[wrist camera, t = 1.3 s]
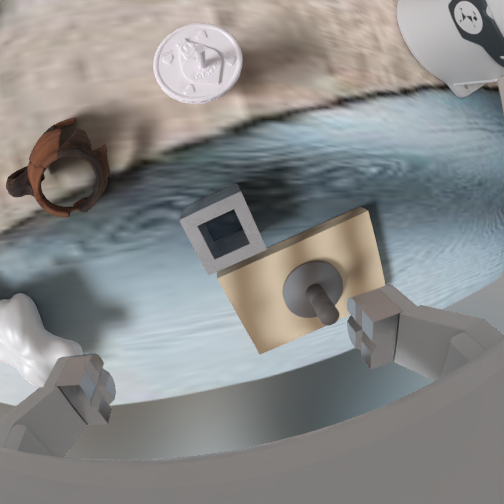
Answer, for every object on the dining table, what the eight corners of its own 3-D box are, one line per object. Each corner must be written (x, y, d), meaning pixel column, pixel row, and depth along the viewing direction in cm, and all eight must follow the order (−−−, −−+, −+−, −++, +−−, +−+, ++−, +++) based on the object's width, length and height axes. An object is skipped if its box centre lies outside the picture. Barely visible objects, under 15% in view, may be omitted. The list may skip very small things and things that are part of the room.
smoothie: (196, 126, 28) (182, 116, 15) (158, 82, 26) (117, 43, 13) (247, 88, 27) (274, 50, 14) (208, 44, 25) (206, -19, 12)
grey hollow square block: (236, 182, 31) (241, 191, 26) (259, 233, 33) (266, 249, 28) (184, 207, 31) (179, 220, 26) (209, 255, 33) (208, 275, 28)
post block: (360, 206, 33) (396, 226, 26) (380, 287, 38) (411, 319, 30) (217, 270, 34) (218, 308, 26) (257, 344, 38) (267, 387, 31)
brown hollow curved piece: (97, 100, 26) (95, 123, 21) (118, 170, 33) (125, 208, 28) (4, 143, 22) (-17, 179, 17) (34, 206, 30) (26, 250, 25)
